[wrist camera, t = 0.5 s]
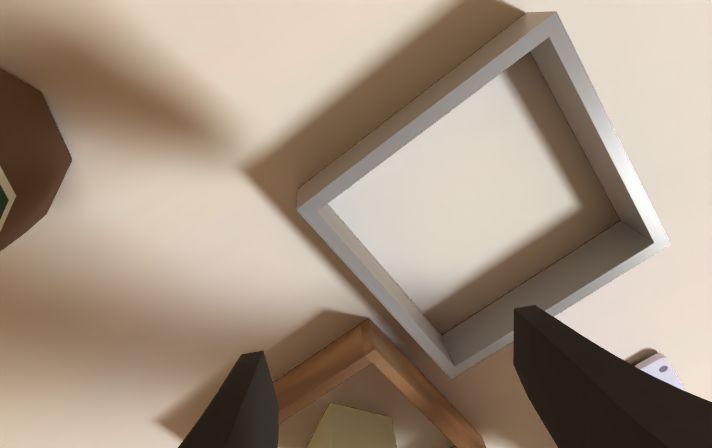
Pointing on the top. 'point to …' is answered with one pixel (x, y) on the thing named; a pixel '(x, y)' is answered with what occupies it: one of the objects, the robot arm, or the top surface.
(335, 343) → the walnut bin
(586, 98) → the grey bin
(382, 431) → the sage block
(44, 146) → the beer bottle
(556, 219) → the top surface
